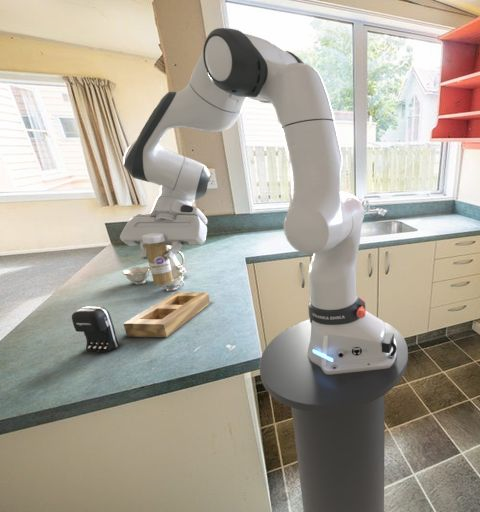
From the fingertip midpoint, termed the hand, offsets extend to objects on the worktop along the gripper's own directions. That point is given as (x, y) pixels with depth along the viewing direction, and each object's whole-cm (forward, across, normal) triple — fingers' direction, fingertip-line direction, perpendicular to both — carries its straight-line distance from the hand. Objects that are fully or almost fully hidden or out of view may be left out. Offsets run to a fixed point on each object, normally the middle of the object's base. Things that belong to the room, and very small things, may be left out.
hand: (156, 258), depth 77 cm
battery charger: (+21, -13, +10) cm, 27 cm away
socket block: (+10, -5, +20) cm, 23 cm away
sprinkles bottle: (+5, 0, +6) cm, 7 cm away
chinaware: (-10, -25, +42) cm, 49 cm away
